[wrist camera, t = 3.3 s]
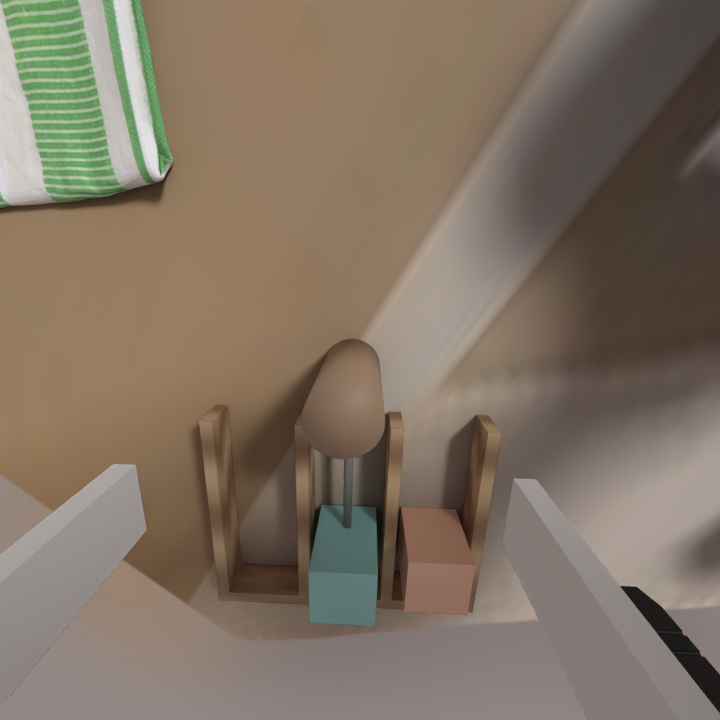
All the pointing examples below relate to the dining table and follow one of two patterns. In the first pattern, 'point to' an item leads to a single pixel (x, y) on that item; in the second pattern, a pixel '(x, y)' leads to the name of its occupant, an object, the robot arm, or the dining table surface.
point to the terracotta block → (434, 562)
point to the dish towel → (77, 102)
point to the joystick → (345, 484)
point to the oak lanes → (292, 580)
